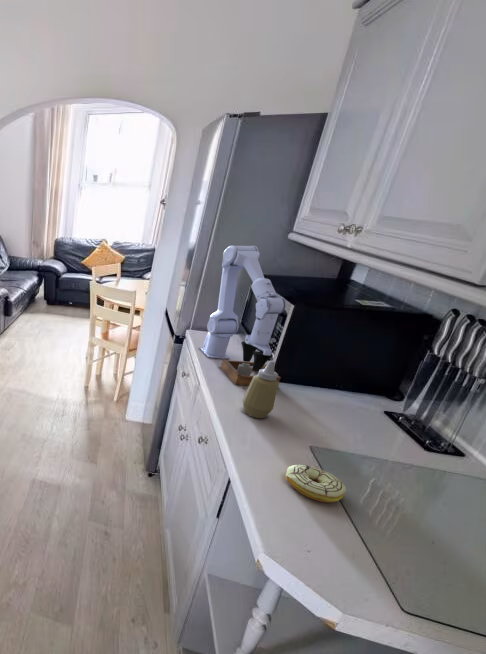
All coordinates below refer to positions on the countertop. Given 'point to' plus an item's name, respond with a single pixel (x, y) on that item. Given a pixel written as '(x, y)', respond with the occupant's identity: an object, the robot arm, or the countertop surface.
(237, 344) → the countertop surface
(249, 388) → the squeeze bottle
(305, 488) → the decorated donut
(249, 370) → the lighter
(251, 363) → the wooden tray
